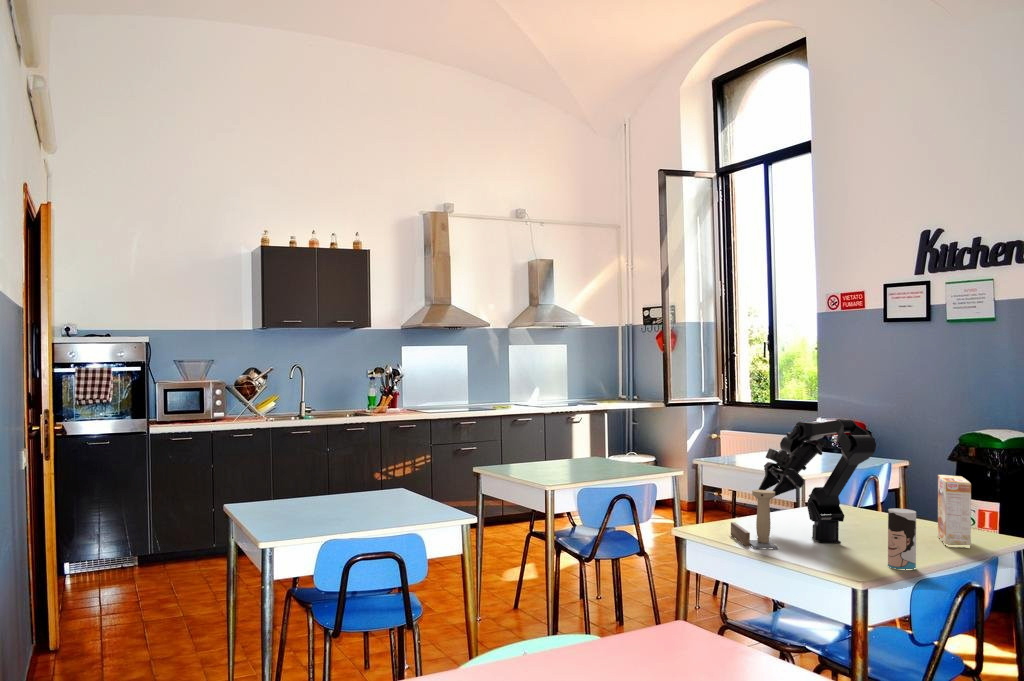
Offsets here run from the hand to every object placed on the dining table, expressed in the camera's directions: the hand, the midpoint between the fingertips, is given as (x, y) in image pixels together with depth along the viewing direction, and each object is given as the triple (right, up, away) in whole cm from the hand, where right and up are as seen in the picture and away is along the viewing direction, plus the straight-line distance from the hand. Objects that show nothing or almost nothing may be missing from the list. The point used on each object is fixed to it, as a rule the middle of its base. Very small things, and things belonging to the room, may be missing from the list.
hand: (765, 493), depth 258 cm
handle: (-6, -12, -16) cm, 21 cm away
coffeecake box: (+54, -14, -9) cm, 57 cm away
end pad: (-6, -12, -17) cm, 22 cm away
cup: (+24, -13, -40) cm, 48 cm away
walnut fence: (-11, -12, -11) cm, 20 cm away
